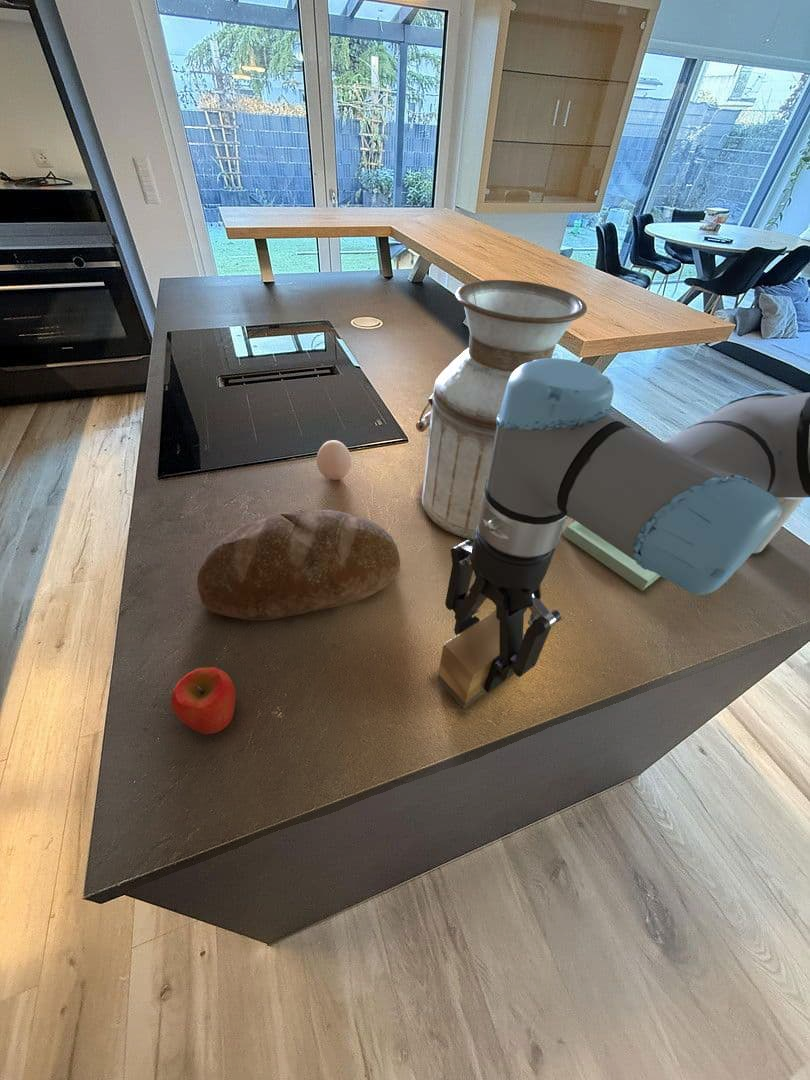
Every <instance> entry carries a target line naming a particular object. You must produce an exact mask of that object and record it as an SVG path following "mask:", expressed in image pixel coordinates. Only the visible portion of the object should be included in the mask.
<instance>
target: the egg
mask: <svg viewBox="0 0 810 1080" xmlns="http://www.w3.org/2000/svg"><path fill="white" fill-rule="evenodd" d="M352 461H353V459H352V455H351V452H350V450H349V448H348V447H347V446H346V445H345V444H344V443H343V442H342V441H340V440H336V439H335V440H334V439H333V440H332V439H330V440H328V441H326V442H324V443H323V444H322V445H321V447H320V448H319V450H318V451H317V454H316V466H317V469H318V471H319V472H320V474H321V475H322V476H324V478H327V479H328V480H333V481H337V480H340V479H343V478H345V477H346V476H347V475H348V474H349V472H350V471H351V469H352V463H353V462H352Z"/></svg>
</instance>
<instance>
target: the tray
mask: <svg viewBox="0 0 810 1080" xmlns="http://www.w3.org/2000/svg"><path fill="white" fill-rule="evenodd" d="M563 537H564V538H566V539H567V540H569V541H570V542H571V543H573V544H574V545H575V546H577V547H579V548H580V549H582V550H583V551H584V552H586V553H587V554H588V555H590V556H591V557H593V558H594V559H596V561H598V562H600V563H601V564H603V565H604V566H606V567H607V568H609V569H610V570H612V571H613V572H614V573H616V574H617V575H618V576H620V577H622V578H623V579H624V580H626V581H627V582H629V583H630V584H632V586H634V587H636V588H638V589H639V590H640V591H642V592H643V591H644V590H646V589H647V588H648V587H649V586H650V585H652V584H653V583H654V582H655V581H657V580H658V579H659V578H661V576H660V575H658V574H657V573H655V572H651V571H649V570H647V569H646V570H645V569H643V568H642V567H641V566H640V565H638V564H637V563H636V561H634V560H633V559H632V558H630V557H629V556H627V555H626V554H624V553H623V552H621V551H620V550H618V549H617V548H615V547H614V546H612V545H611V544H609V543H608V542H606V541H605V540H603V539H602V538H600V537H599V536H597V535H596V534H595V533H593V532H592V531H590V530H589V529H587V528H586V527H584V526H583V525H581V524H580V523H578V522H577V521H575V520H574V522H572V523H570V524H569V525H567V526H566V529H565V530H564V533H563Z"/></svg>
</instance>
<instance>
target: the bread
mask: <svg viewBox="0 0 810 1080" xmlns="http://www.w3.org/2000/svg"><path fill="white" fill-rule="evenodd" d="M400 567H401V558H400V553H399V549H398V545H397V543H396V541H395V540H394V538H393V536H392V534H390V532H388V531H387V530H386V529H385V528H383V527H382V526H381V525H380V524H378V523H376V522H374V521H372V520H370V519H367V518H365V517H361V516H357V515H355V514H353V513H349V512H344V511H339V510H333V509H315V510H294V511H283V512H282V511H281V512H278V513H274V514H271V515H269V516H266V517H264V518H260V519H256V520H254V521H251V522H249V523H246V524H244V525H242V526H240V527H238V528H236V529H234V530H233V531H231V532H229V534H227V535H226V536H225V537H224V538H222V540H220V542H218V543H217V544H216V545H215V546H214V547H213V548H212V549H211V550H210V551H209V552H208V554H207V555H206V556H205V558H204V559H203V561H202V562H201V565H200V568H199V570H198V575H197V583H196V586H197V587H196V588H197V591H198V595H199V597H200V601H201V603H202V605H203V606H204V607H205V609H207V610H208V611H210V612H211V613H213V614H217V615H219V616H225V617H230V618H235V619H239V620H245V621H252V622H253V621H254V622H259V621H261V622H262V621H272V620H277V619H282V618H288V617H292V616H293V617H294V616H299V615H305V614H307V613H312V612H315V611H320V610H321V611H322V610H326V609H331V608H335V607H336V608H337V607H340V606H345V605H350V604H353V603H356V602H358V601H361V600H365V599H367V598H368V597H370V596H372V595H374V594H376V593H377V592H379V591H381V590H383V589H384V588H386V586H388V585H389V584H390V583H391V582H392V581H393V580H394V579H395V578H396V577H397V576H398V574H399V572H400Z"/></svg>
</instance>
